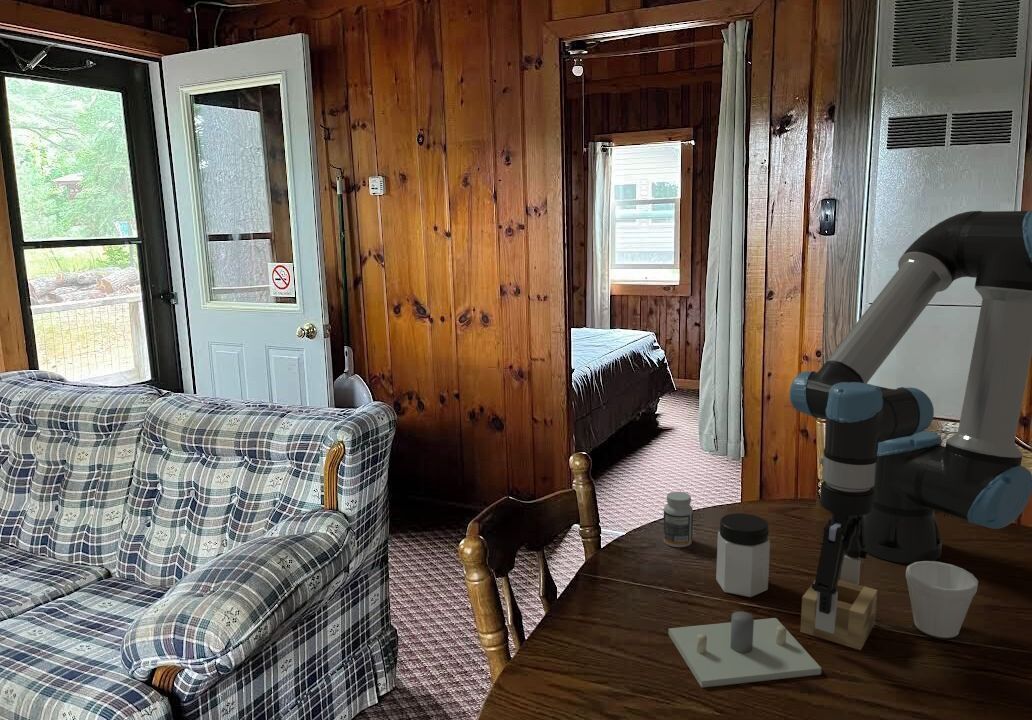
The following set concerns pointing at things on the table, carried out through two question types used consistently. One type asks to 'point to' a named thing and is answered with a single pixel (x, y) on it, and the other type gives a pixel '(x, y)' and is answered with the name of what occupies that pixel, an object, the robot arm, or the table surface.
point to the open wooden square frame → (843, 614)
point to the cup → (939, 597)
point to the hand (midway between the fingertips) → (837, 611)
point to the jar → (743, 554)
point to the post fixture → (742, 651)
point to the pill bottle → (678, 520)
